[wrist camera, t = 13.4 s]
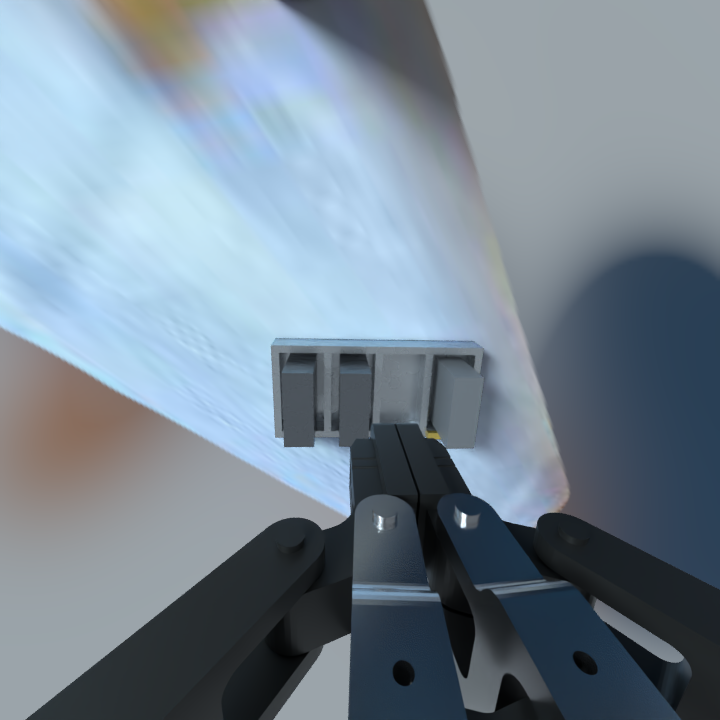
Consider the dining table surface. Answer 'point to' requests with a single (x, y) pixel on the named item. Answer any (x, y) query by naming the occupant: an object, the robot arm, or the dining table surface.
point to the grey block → (456, 402)
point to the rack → (356, 385)
